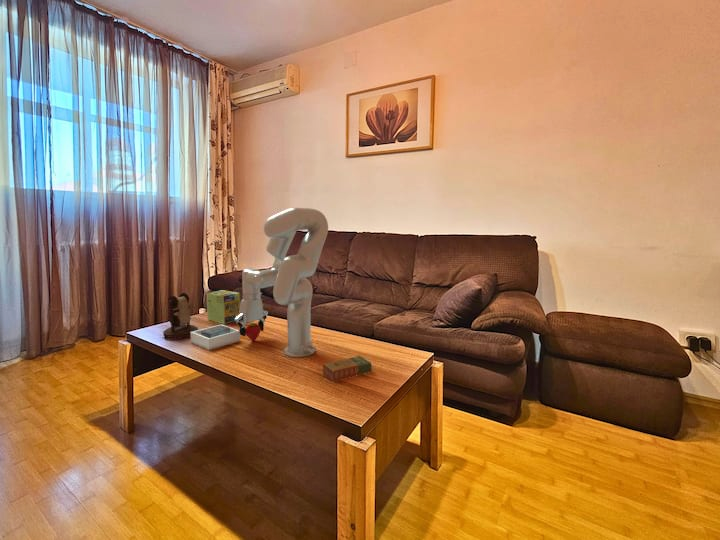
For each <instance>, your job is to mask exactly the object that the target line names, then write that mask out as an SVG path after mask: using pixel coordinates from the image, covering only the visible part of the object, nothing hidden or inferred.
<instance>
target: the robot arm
mask: <svg viewBox="0 0 720 540" xmlns="http://www.w3.org/2000/svg"><path fill="white" fill-rule="evenodd" d="M298 231H307V233H306V234H305V236H304V237H303V238H302V240H301V243H300V247H299V249H298V252H297V254H293V255H292V254H291V255H287V253H288V251H289V249H290V246H291V244H292V242H293V239H294V237H295V235H296V233H297V232H298ZM263 232H264V234H265V236H266V237H267V238H269V240H268V243H267V245H266V246H265V247H266V249H265V250H266V252H267V253H268V254H269V255H270V256H272V257H274V261H273V264H272V266H271V268H267V269H262V270H259V269H257V268H244V269H243V270H242V272H241V273H242V274H241V275H242V276H241V278H242V282H241V283H242V299H240V310H239V316H237V317H236V318H235V319H234V321H235V322H234V323H235V325H236V326H238V327H239V330H240V336H242V337H246V336H247V335H246V328H247V327H246V325H247V323H253V321H254V322H255V321H257V323H258V324H257V325H259V326H260V328H261V330H260V332H263V331H264V329H265V328H264V327H265V325H264V323H265V321H266V319H267V316H268V313H269V311H267V310H264V306H263V301H262V297H261V295H262V294H263V292H261V289H264V288H269V287H273V291H272V294H273V298H274V301H275V302H276V303H277V304H279V305H281V306H287V310H286V312H287V313H286V314H287V316H286V317H287V318H286V319H287V320H286V322H287V324H286V325H287V346H286V347H285V348H284V349H283V353H284V355H285V356H288V357H290V358H303V357H308V356H311V355H312V354H314V353H315V351H316V350H317V346H313V342H312V340H311V337H312V336H311V335H312V334H311V326H312V325H311V308H312V307H311V305H312V298H313V293H314V292H313V291H314V289H313V285H312V282H311V281H310V280H309V279H308V278H309V277H311V276H313V275H314V274H315V273H316V270H317V268H318V264H319V260H320V258H321V254H322V250H323V247H324V245H325V242H326V239H327V237H328V233H329V223H328V219H327V218H326V216H325V215H324V213H322V211H320V210H318V209H315V208H308V207H292V208H287V209H285V210H283V211H281V212H279V213H276V214H274V215H272V216H270V217H268V218H267V219H266V220H265V222H264V224H263ZM239 320H240V321H239Z"/></svg>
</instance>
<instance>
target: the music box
mask: <svg viewBox="0 0 720 540" xmlns="http://www.w3.org/2000/svg"><path fill="white" fill-rule="evenodd" d="M167 300H168V301H167V303H168V305H169V311H168V314H169V316H170V317H169V324H170V327H168V328H166V329H165V330H164V331H163V337H164V336H166V337H165V338H180V340H183V338H184V337H187V336H191V333H190V332H193V331H197V330H199V328H198V326H196V325H193V324H191V318H192V317H191V314H190V308H191V306H190V305H189V304H190V303H189V302H190V296H189V295H188V294H187V293H185V292H182V293H181V294H179V296H178V297H177V296H175V295H171V296H169V298H168V299H167ZM175 313H179V316H178V315H177V314H175Z"/></svg>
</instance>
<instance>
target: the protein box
mask: <svg viewBox="0 0 720 540" xmlns="http://www.w3.org/2000/svg"><path fill="white" fill-rule="evenodd" d="M240 297H241V296H240V292H236V291H232V290H231V291H229V290H223V289H221V290H216V291H209V292H206V310H207V311H206V312H207V313H206V314H207V321H210V320H211V322H214V321H215V323H217V322H218V324H221V323H222V325H224V324H225V325H227V324H233V323H236V322H235V321H234V319H235V318H236V317H237V316H239V310H240V303H241V298H240Z"/></svg>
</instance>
